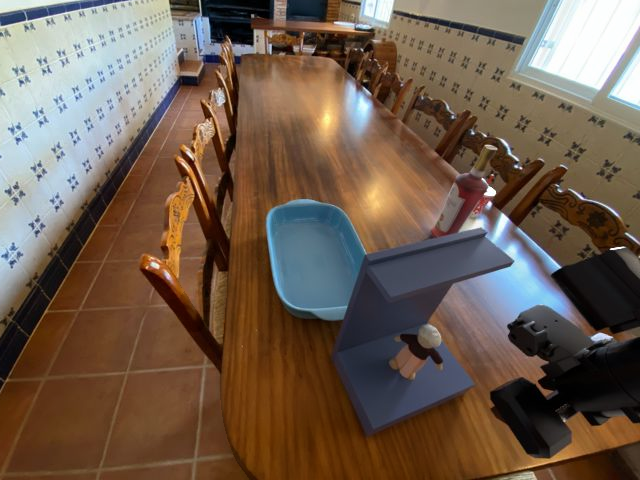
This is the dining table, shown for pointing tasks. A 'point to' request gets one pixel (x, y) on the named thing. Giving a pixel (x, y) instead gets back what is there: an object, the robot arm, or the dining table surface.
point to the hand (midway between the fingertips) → (517, 398)
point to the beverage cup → (483, 200)
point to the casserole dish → (313, 258)
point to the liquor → (464, 196)
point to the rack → (406, 325)
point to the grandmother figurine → (417, 351)
